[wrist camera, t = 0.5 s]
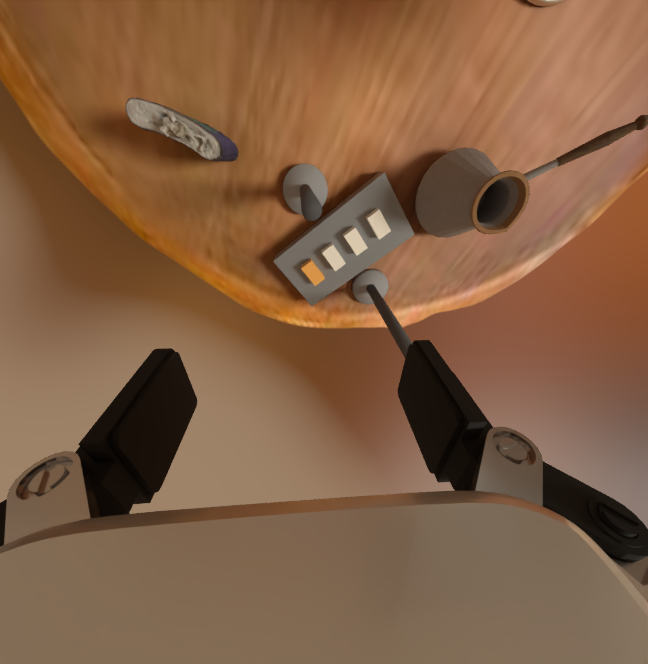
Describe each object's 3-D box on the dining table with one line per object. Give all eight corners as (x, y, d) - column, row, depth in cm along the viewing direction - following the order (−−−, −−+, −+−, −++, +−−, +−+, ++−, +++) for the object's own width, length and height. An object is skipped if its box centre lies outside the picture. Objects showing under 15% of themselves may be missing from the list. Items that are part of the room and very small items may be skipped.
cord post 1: (309, 152, 35) (320, 135, 17) (335, 195, 38) (368, 218, 20) (273, 184, 36) (251, 199, 19) (301, 222, 39) (304, 266, 22)
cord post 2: (375, 261, 44) (428, 324, 26) (392, 288, 47) (449, 361, 29) (345, 282, 45) (375, 355, 28) (363, 307, 49) (400, 387, 31)
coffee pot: (423, 247, 43) (474, 279, 31) (396, 182, 37) (446, 189, 25) (554, 166, 38) (679, 164, 26) (546, 76, 32) (702, 18, 20)
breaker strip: (378, 172, 36) (387, 172, 33) (407, 230, 41) (418, 236, 38) (274, 255, 42) (272, 264, 38) (311, 298, 47) (312, 310, 43)
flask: (163, 131, 32) (112, 117, 23) (165, 104, 31) (112, 77, 22) (236, 166, 35) (215, 165, 26) (241, 142, 33) (221, 132, 24)
